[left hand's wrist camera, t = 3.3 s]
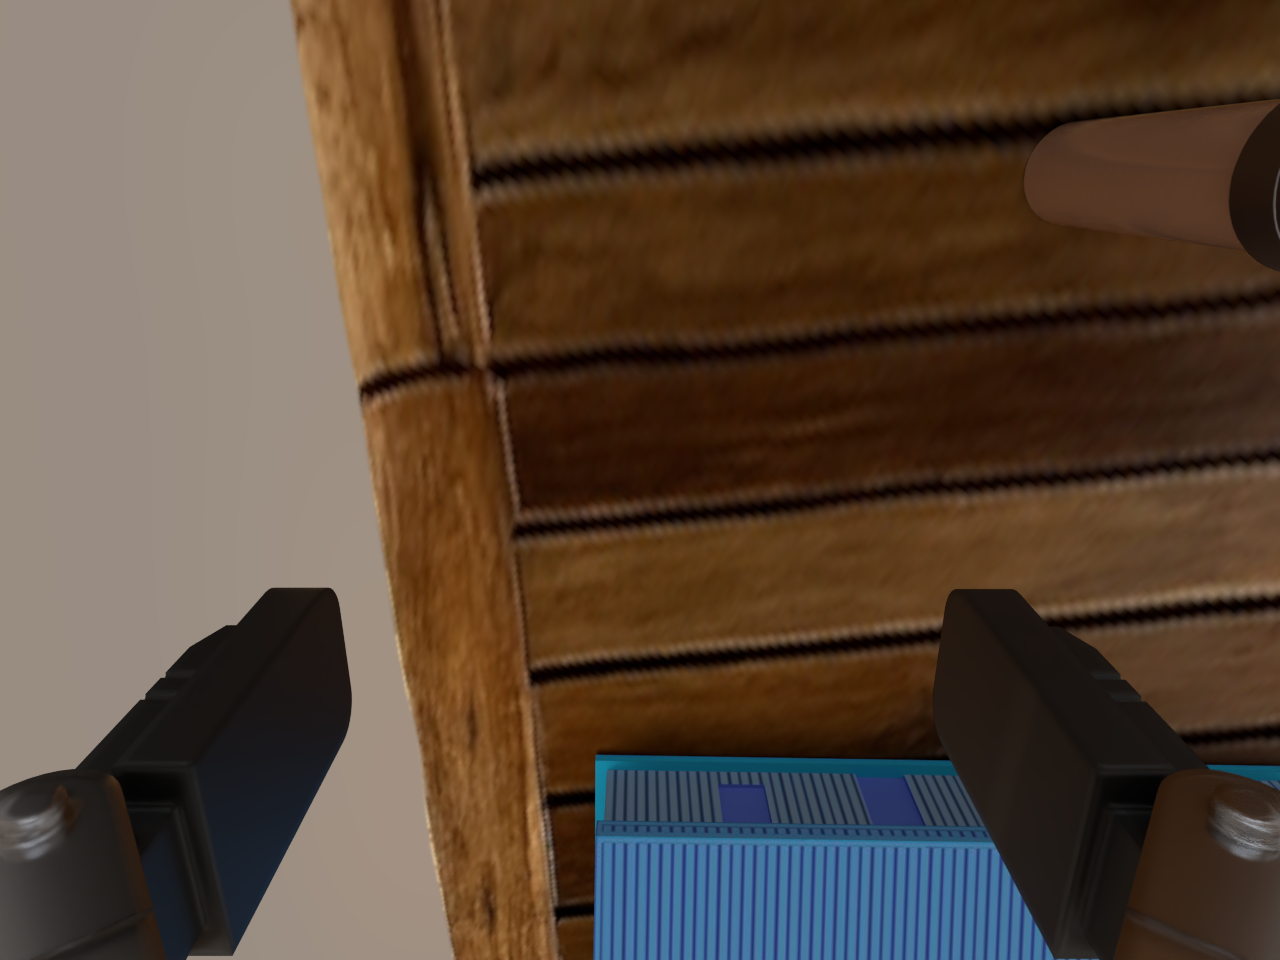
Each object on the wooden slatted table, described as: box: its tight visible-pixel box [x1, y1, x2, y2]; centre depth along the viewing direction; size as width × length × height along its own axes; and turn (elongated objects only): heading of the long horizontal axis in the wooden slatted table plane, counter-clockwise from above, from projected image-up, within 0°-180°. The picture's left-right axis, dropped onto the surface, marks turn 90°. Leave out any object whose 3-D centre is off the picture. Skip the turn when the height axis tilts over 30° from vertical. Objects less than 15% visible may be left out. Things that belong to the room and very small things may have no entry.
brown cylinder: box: [1024, 99, 1280, 251], centre depth 29 cm, size 4×4×16 cm
